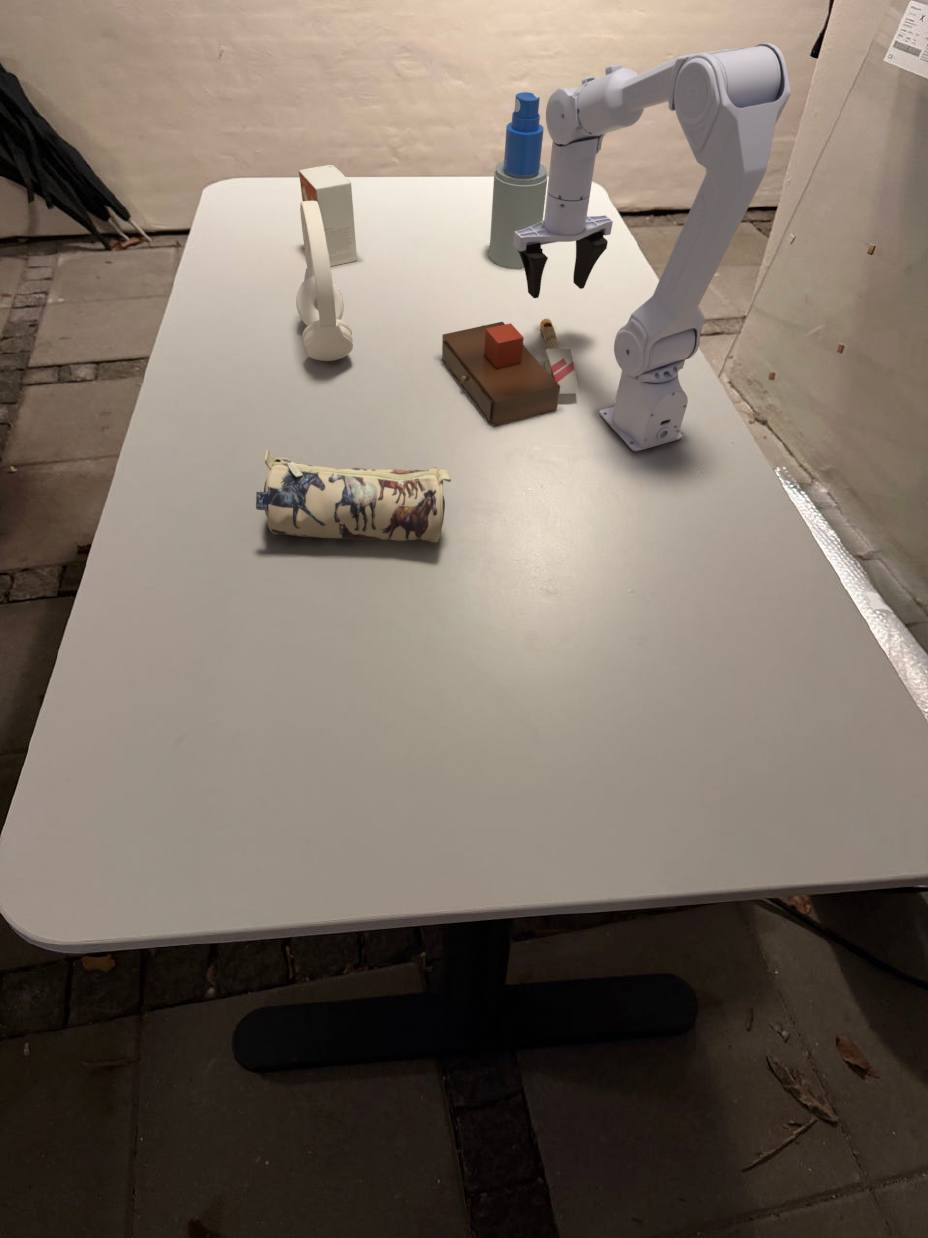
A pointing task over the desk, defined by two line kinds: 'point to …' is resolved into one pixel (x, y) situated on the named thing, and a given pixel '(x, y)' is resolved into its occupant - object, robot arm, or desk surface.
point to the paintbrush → (559, 360)
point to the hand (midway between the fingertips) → (556, 290)
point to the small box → (332, 209)
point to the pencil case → (352, 502)
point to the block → (503, 345)
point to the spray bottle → (518, 182)
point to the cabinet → (499, 378)
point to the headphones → (320, 294)
